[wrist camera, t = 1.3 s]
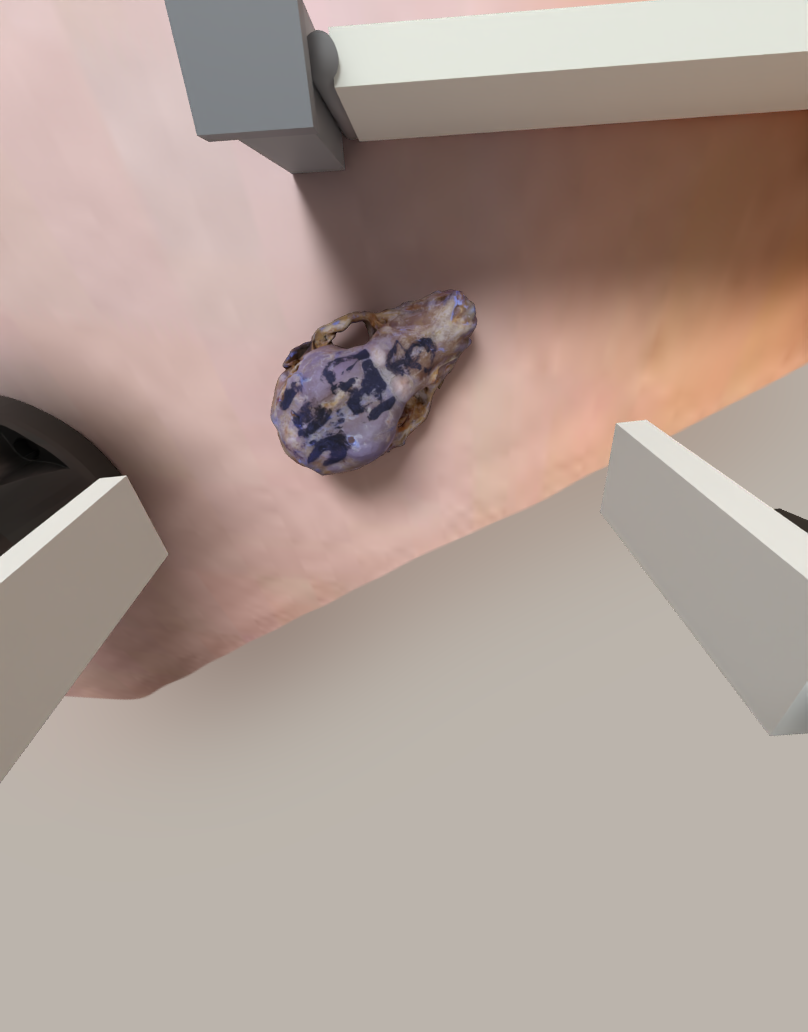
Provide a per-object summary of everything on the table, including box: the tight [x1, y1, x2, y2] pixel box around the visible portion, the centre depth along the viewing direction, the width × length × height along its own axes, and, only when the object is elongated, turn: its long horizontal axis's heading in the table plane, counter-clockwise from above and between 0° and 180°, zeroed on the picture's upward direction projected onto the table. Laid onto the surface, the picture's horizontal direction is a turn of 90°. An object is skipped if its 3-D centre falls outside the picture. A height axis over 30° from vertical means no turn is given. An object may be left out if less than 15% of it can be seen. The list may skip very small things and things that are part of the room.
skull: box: [271, 290, 477, 475], centre depth 22 cm, size 12×8×6 cm, turn 118°
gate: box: [307, 0, 808, 142], centre depth 15 cm, size 22×2×8 cm, turn 93°
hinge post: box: [165, 0, 345, 174], centre depth 14 cm, size 3×4×10 cm
